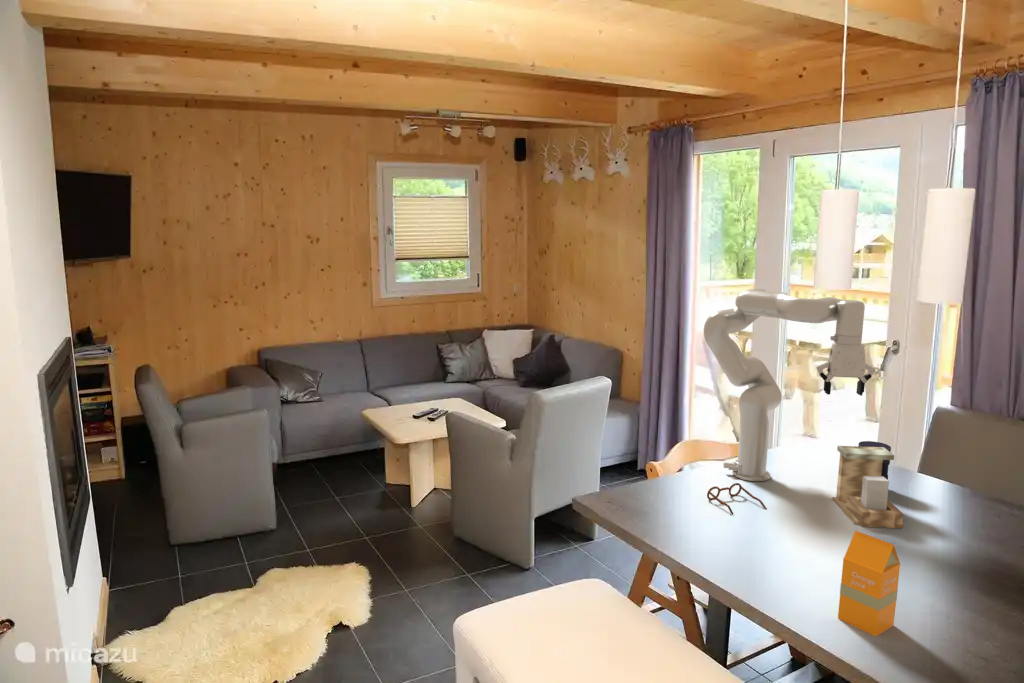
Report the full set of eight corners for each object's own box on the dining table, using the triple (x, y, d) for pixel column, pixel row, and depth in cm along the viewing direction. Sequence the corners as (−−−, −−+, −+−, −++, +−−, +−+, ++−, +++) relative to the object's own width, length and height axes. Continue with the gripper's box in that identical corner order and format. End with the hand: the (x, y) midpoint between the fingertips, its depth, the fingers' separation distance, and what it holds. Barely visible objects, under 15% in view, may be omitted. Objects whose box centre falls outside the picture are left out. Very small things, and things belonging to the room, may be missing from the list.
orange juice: (875, 636, 156) (884, 549, 152) (837, 618, 163) (844, 534, 159) (894, 625, 160) (903, 540, 157) (855, 608, 167) (863, 526, 164)
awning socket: (856, 526, 212) (862, 467, 209) (832, 499, 232) (837, 445, 229) (906, 528, 211) (912, 469, 208) (877, 501, 231) (883, 446, 228)
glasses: (739, 495, 236) (740, 481, 235) (767, 510, 224) (768, 495, 223) (705, 501, 231) (706, 486, 230) (732, 517, 219) (733, 501, 218)
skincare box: (879, 514, 219) (883, 476, 217) (885, 519, 215) (889, 481, 213) (859, 513, 220) (862, 475, 218) (864, 518, 215) (868, 480, 213)
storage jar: (849, 482, 247) (853, 440, 245) (878, 483, 247) (882, 441, 244) (862, 493, 237) (866, 449, 235) (892, 494, 237) (897, 450, 234)
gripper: (823, 341, 222) (818, 396, 225) (882, 343, 220) (876, 397, 223) (815, 337, 229) (811, 390, 232) (872, 339, 228) (867, 392, 231)
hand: (843, 394), depth 228 cm, fingers open, 9 cm apart
